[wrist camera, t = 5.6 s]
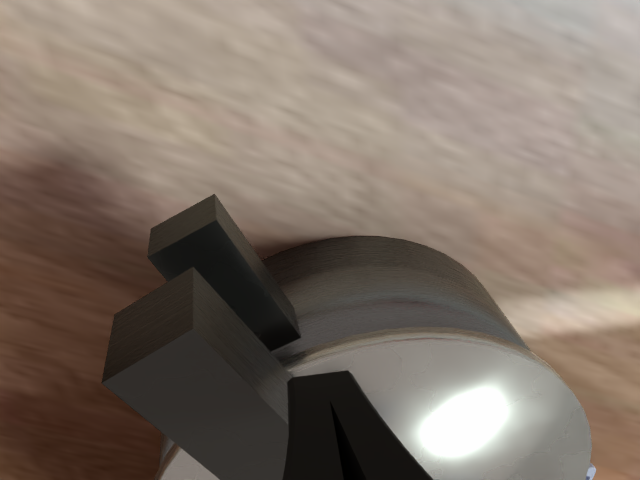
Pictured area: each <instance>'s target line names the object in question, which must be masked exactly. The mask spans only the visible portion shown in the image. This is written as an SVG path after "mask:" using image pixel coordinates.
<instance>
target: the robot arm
mask: <svg viewBox="0 0 640 480" xmlns="http://www.w3.org/2000/svg"><path fill="white" fill-rule="evenodd" d="M287 395H288V431H289V437H288V446H287V454H286V462H285V468H284V474H283V479H282V480H433V478H432V477H431V476H430V475H429V474H428V473H427V472H426V471H425V470H424V469H423V467H422V466H421V465H420V464H419V463H418V462H417V461H416V460H415V458H414V457H413V456H412V455H411V454H410V452H409V451H408V450H407V449H406V448H405V446H404V445H403V444H402V443H401V441H400V440H399V439H398V438H397V437H396V435H395V434H394V433H393V432H392V430H391V429H390V428H389V427H388V425H387V424H386V423H385V421H384V420H383V419H382V417H381V416H380V415H379V413H378V412H377V410H376V409H375V408H374V406H373V405H372V404H371V402H370V401H369V399H368V398H367V396H366V395H365V393H364V392H363V390H362V389H361V387H360V386H359V384H358V383H357V381H356V379H355V378H354V376H353V374H352V373H350V372H349V371H348V370H346V371H338V372H330V373H322V374H314V375H306V376H299V377H292V378H291V379H290V380H289V381H288V382H287ZM595 472H596V469H595V467H594V466H593V464H591V463H590V465H589V469H588V472H587V476H586V479H585V480H592V479H593V477H594V474H595Z"/></svg>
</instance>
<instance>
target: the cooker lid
mask: <svg viewBox="0 0 640 480" xmlns="http://www.w3.org/2000/svg"><path fill="white" fill-rule="evenodd" d="M346 370H348V371H349V372H350V373H352V374H353V376H354V378H355V379H356V381H357V383H358V384H359V386H360V387H361V389H362V390H363V392H364V393H365V395H366V396H367V398H368V399H369V401H370V402H371V404H372V405H373V406H374V408H375V409H376V410H377V412H378V413H379V415H380V416H381V417H382V419H383V420H384V421H385V423H386V424H387V425H388V427H389V428H390V429H391V430H392V432H393V433H394V434H395V435H396V437H397V438H398V439H399V440H400V441H401V443H402V444H403V445H404V446H405V448H406V449H407V450H408V451H409V452H410V454H411V455H412V456H413V457H414V458H415V460H416V461H417V462H418V463H419V464H420V465H421V466H422V467H423V469H424V470H425V471H426V472H427V473H428V474H429V475H430V476H431V477H432V478H433V480H585V479H586V476H587V472H588V469H589V465H590V458H591V448H592V443H591V434H590V427H589V424H588V421H587V418H586V415H585V412H584V410H583V408H582V406H581V405H580V403H579V401H578V400H577V398H576V397H575V395H574V394H573V392H572V391H571V390H570V388H569V387H568V386H567V384H566V383H565V382H564V380H563V379H562V378H561V377H560V376H559V375H558V374H557V373H556V371H555V370H554V369H553V368H552V367H551V366H550V365H549V364H548V363H546V362H545V361H544V360H542V359H541V358H539V357H538V356H537V355H535V354H534V353H532V352H531V351H529V350H527V349H525V348H523V347H521V346H519V345H517V344H515V343H513V342H511V341H508V340H505V339H502V338H499V337H495V336H492V335H489V334H485V333H482V332H476V331H470V330H463V329H457V328H444V327H409V328H395V329H385V330H379V331H374V332H368V333H362V334H356V335H352V336H348V337H345V338H341V339H337V340H334V341H330V342H327V343H323V344H320V345H317V346H314V347H312V348H309V349H307V350H304V351H301V352H299V353H296V354H294V355H291V356H288V357H286V358H284V359H282V360H280V361H278V360H277V358H276V357H275V356H274V355H273V354H272V353H271V352H270V351H269V350H268V349H267V347H266V346H265V345H264V344H263V343H262V342H261V341H260V340H259V339H258V337H257V336H256V335H255V334H254V333H253V332H252V331H251V330H250V329H249V328H248V326H247V325H246V324H245V323H244V322H243V321H242V320H241V319H240V318H239V317H238V315H237V314H236V313H235V312H234V311H233V310H232V309H231V308H230V307H229V305H228V304H227V303H226V302H225V301H224V300H223V299H222V298H221V297H220V296H219V294H218V293H217V292H216V291H215V290H214V289H213V288H212V287H211V286H210V284H209V283H208V282H207V281H206V280H205V279H204V278H203V277H202V276H201V275H200V273H199V272H198V271H197V270H196V269H195V268H194V267H192V268H190V269H188V270H187V271H185V272H183V273H182V274H180V275H179V276H177V277H175V278H174V279H172V280H170V281H169V282H167V283H165V284H164V285H162V286H161V287H159V288H157V289H156V290H154V291H152V292H151V293H149V294H148V295H146V296H144V297H143V298H141V299H139V300H138V301H136V302H134V303H133V304H131V305H130V306H128V307H126V308H125V309H123V310H121V311H120V312H118V313H116V314H115V315H114V320H113V325H112V330H111V336H110V341H109V346H108V352H107V357H106V362H105V368H104V373H103V378H102V384H103V385H104V386H106V387H107V388H108V389H109V390H111V391H112V392H113V393H114V394H115V395H117V396H118V397H119V398H120V399H122V400H123V401H124V402H125V403H126V404H128V405H129V406H130V407H131V408H133V409H134V410H135V411H136V412H138V413H139V414H140V415H141V416H142V417H144V418H145V419H146V420H147V421H149V422H150V423H151V424H152V425H153V426H155V427H156V428H157V429H158V430H160V431H161V432H162V433H163V434H164V435H166V436H167V437H168V438H169V439H171V440H172V441H173V442H174V444H173V446H172V447H171V449H170V450H169V451H168V453H167V454H166V456H165V458H164V460H163V462H162V464H161V466H160V468H159V470H158V472H157V474H156V476H155V479H154V480H282V479H283V474H284V468H285V462H286V454H287V446H288V437H289V431H288V395H287V382H288V381H289V380H290V379H291V378H292V377H299V376H306V375H314V374H322V373H330V372H338V371H346Z"/></svg>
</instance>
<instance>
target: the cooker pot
mask: <svg viewBox="0 0 640 480" xmlns="http://www.w3.org/2000/svg"><path fill="white" fill-rule="evenodd" d="M147 257H148V259H149V260H150V261H151V262H152V263H153V265H154V266H155V267H156V268H157V269H158V270H159V272H160V273H161V274H162V275H163V276H164V278H165V279H166V280H167V281H168V282H169V281H170V280H172V279H174V278H175V277H177V276H179V275H180V274H182V273H183V272H185V271H187V270H188V269H190V268H192V267H194V268H195V269H196V270H197V271H198V272H199V273H200V275H201V276H202V277H203V278H204V279H205V280H206V281H207V282H208V283H209V284H210V286H211V287H212V288H213V289H214V290H215V291H216V292H217V293H218V294H219V296H220V297H221V298H222V299H223V300H224V301H225V302H226V303H227V304H228V305H229V307H230V308H231V309H232V310H233V311H234V312H235V313H236V314H237V315H238V317H239V318H240V319H241V320H242V321H243V322H244V323H245V324H246V325H247V326H248V328H249V329H250V330H251V331H252V332H253V333H254V334H255V335H256V336H257V337H258V339H259V340H260V341H261V342H262V343H263V344H264V345H265V346H266V347H267V349H268V350H269V351H270V352H271V353H272V354H273V355H274V356H275V357H276V358H277V360H278V361H280V360H282V359H284V358H286V357H288V356H291V355H294V354H296V353H299V352H301V351H304V350H307V349H309V348H312V347H314V346H317V345H320V344H323V343H327V342H330V341H334V340H337V339H341V338H345V337H348V336H352V335H356V334H362V333H368V332H374V331H379V330H385V329H395V328H409V327H444V328H457V329H463V330H470V331H476V332H482V333H485V334H489V335H492V336H495V337H499V338H502V339H505V340H508V341H511V342H513V343H515V344H517V345H519V346H521V347H523V348H525V349H527V350H529V351H531V350H530V349H529V348H528V346H527V345H526V343H525V342H524V341H523V339H522V338H521V337H520V335H519V334H518V333H517V331H516V330H515V328H514V327H513V326H512V324H511V323H510V322H509V320H508V319H507V318H506V316H505V315H504V314H503V312H502V311H501V309H500V308H499V307H498V305H497V304H496V303H495V301H494V300H493V299H492V297H491V296H490V294H489V293H488V292H487V290H486V289H485V288H484V287H483V285H482V284H481V283H480V282H479V280H478V279H477V278H476V277H475V276H474V275H473V274H472V273H471V272H470V271H469V270H467V269H466V268H465V267H464V266H463V265H462V264H460V263H458V262H457V261H455V260H454V259H452V258H450V257H449V256H447V255H446V254H444V253H441V252H439V251H437V250H434V249H432V248H430V247H427V246H425V245H421V244H417V243H414V242H410V241H406V240H401V239H394V238H387V237H371V236H354V237H344V238H334V239H327V240H322V241H318V242H313V243H309V244H304V245H301V246H298V247H295V248H292V249H289V250H286V251H283V252H280V253H278V254H276V255H273V256H271V257H269V258H267V259H265V260H263V261H261V260H260V258H259V257H258V255H257V254H256V252H255V251H254V249H253V248H252V247H251V245H250V244H249V242H248V241H247V239H246V238H245V237H244V235H243V234H242V232H241V231H240V229H239V228H238V227H237V225H236V224H235V222H234V221H233V219H232V218H231V217H230V215H229V214H228V212H227V211H226V209H225V208H224V207H223V205H222V204H221V202H220V201H219V199H218V198H217V196H216V195H215V194H213V195H212V196H210V197H208V198H206V199H204V200H202V201H201V202H199V203H197V204H195V205H193V206H191V207H190V208H188V209H186V210H184V211H182V212H181V213H179V214H177V215H175V216H173V217H171V218H170V219H168V220H166V221H164V222H162V223H160V224H159V225H157V226H155V227H153V228H151V233H150V241H149V248H148V256H147ZM173 444H174V442H173V441H172V440H171V439H169V438H168V437H167V436H166V435H164V434H163V433H162V432H161V444H160V461H159V468H160V466H161V464H162V462H163V460H164V458H165V456H166V454H167V453H168V451H169V450H170V449H171V447H172V446H173Z"/></svg>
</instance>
